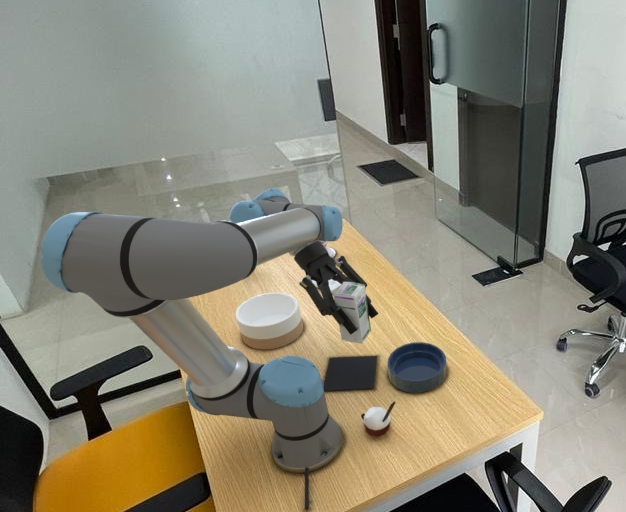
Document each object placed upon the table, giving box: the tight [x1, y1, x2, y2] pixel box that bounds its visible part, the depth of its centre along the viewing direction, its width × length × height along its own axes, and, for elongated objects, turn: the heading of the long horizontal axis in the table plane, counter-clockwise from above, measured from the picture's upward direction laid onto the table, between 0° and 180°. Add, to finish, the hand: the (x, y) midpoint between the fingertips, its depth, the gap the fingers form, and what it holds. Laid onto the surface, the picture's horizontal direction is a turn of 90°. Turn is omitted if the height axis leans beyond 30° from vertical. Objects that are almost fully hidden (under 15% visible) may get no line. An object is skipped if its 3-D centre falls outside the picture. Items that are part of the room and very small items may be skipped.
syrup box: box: [332, 282, 372, 345], centre depth 123 cm, size 6×6×14 cm
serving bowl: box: [387, 341, 447, 394], centre depth 134 cm, size 16×16×4 cm
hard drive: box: [312, 279, 341, 295], centre depth 170 cm, size 2×8×12 cm
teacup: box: [320, 241, 337, 258], centre depth 184 cm, size 12×12×6 cm
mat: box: [323, 355, 378, 392], centre depth 134 cm, size 13×13×1 cm
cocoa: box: [360, 401, 396, 438], centre depth 115 cm, size 10×6×12 cm, turn 40°
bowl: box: [234, 292, 304, 350], centre depth 146 cm, size 17×17×8 cm
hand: (364, 323), depth 122 cm, fingers closed on syrup box, 7 cm apart
